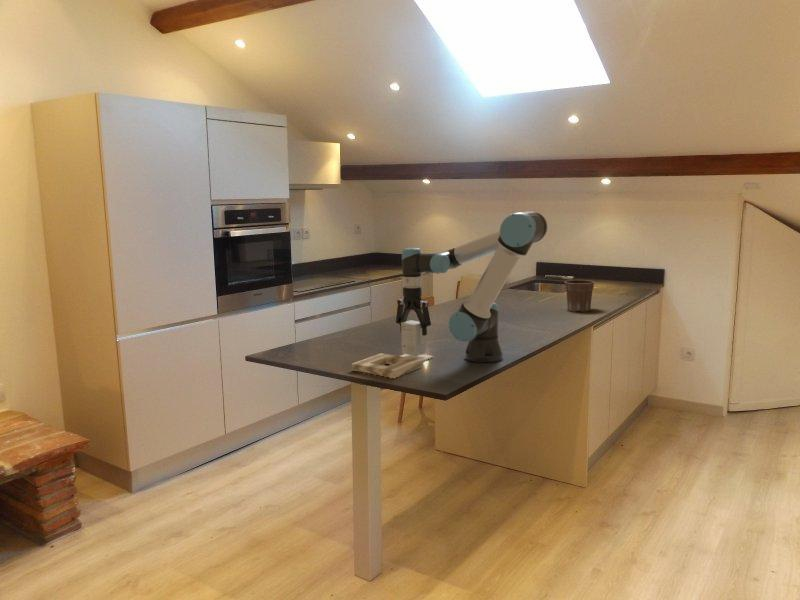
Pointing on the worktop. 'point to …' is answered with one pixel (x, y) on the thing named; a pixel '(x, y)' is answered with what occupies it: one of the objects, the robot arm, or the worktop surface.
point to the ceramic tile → (418, 357)
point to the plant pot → (579, 295)
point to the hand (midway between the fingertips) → (413, 341)
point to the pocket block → (394, 370)
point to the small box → (412, 338)
